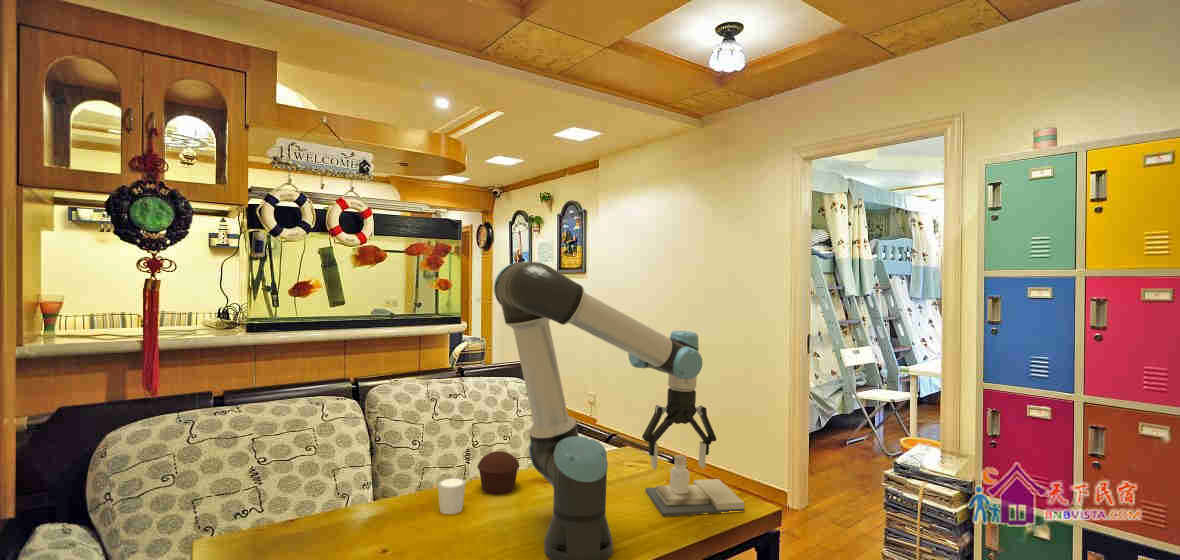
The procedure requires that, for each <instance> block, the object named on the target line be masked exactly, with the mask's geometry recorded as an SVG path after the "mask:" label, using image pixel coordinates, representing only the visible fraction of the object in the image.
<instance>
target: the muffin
mask: <svg viewBox="0 0 1180 560" xmlns="http://www.w3.org/2000/svg"><path fill="white" fill-rule="evenodd" d="M519 468H520V462H519V461H518V459H517V458H516V457H515V456H514V455H513V454H510V452H507V451H491V452H489V453H487V454H486V455H484V456H482V458H481V459H480V461H478V464H477V469H478V470H479V476H480V483H481V490H482V491H483V492H484V493H485V494H488V495H492V496H498V495H506V494H508V493H512V492H513V490H514V489H515V486H516V479H517V474H518V470H519Z"/></svg>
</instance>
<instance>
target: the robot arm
mask: <svg viewBox="0 0 1180 560" xmlns="http://www.w3.org/2000/svg"><path fill="white" fill-rule="evenodd" d="M493 292H494V296H495V299H496V300H497V302H498V303H499V305H500V306H501V309H502V314H503V318H504V322H505V325H507V326H508V327H510V328H511V329H512V330H513V333H514V339H515V343H516V347H517V353H518V357H519V361H520V367H521V371H522V375H523V376H522V377H523V381H524V385H525V390H526V394H527V398H528V404H529V408H530V409H529V410H530V412H531V413H530V414H531V418H532V422H533V423H532V425H531V427H530V429H528V430H529V431H528V434H529V438H530V442H529V444H528V454H529V458H530V461H531V463H532V465H533V467H534V469H535V470H536V471H537V473H539V474H540V475H541V476H542V477H543V478H544V479H545V480H546V481H547V482H548V483H549V484H550V486H552V488H553V503H552V504H553V505H552V506H553V507H552V508H553V510H552V517H551V519H550V522H549V525H548V528H547V531H546V533H545V536H544V542H543V543H544V546H543V547H544V548H543V550H544V554H545V555H546V557H547V558H548V559H549V560H608V559H609V558H610V557H611V555H612V554H613V545H614V542H613V536H612V533H611V529H610V526H609V523H608V519H607V516H606V510H607V509H606V508H607V506H606V505H607V504H606V503H607V482H608V481H607V480H608V479H607V478H608V467H609V466H608V465H609V464H608V463H609V462H608V456H607V455H608V454H607V451H606V450H607V449H606V448H605V446H603V444H602V443H601V442H600V441H597V440H595V439H594V438H588V437H586V436H580V435H579V432H578V426H577V422H576V419H575V418H573V417H572V416H569V414H568V409H567V403H566V399H565V394H564V389H563V384H562V379H561V375H560V371H559V364H558V360H557V355H556V350H555V345H554V340H553V335H552V331H551V327H550V320H551V321H554V322H556V323H558V324H559V325H561V326H562V325H563V326H565V325H567V324H569V325H572V326H574V327H576V328H578V329H580V330H582V331H584V332H585V333H588V334H590V335H592V336H594V337H596V338H598V339H600V340H602V341H604V342H606V343H608V344H609V345H612V346H614V347H616V348H618V349H620V350H622V351H623V352H626V353H627V354H628V360H629V363H630V365H631V366H632V367H633V368H636V369H638V368H639V369H652V370H656V371H658V372H661V373H665V374H668V378H667V379H668V380H667V382H668V383H667V385H668V387H669V388H668V389H667V398H666V399H667V402H666V403H667V404H666V406H661V405H659V404H658V405H655V408H654V413H653V416H652V417H651V418H650V419H651V420H650V421H649V423H648V425H647V426H646V428H645V431H644V432H643V434H642V436H641V438H642V439H643V441H644V442H645V443H648V450H647V451H648V453H647V454H649V456H651V458H650V459H651V461H650V466H651V467H652V469H653V470H657V469H658V467H657V466H658V452H659V445H658V443H657V442H658V440H659V439H661V437H662V436H663V435H664V433H666V431H667V430H668V429H669V428H670V427H671V426H672V425H673V424H675V425H680V424H684V425H688V424H690V426H692V428H693V429H694V431H695V432H696V433H697V435H698V436H699V437H700V438H701V440H700V441H699V448H698V449H699V452H698V453H699V454H698V466H699V467H700V468H701V469H705V468H706V459H707V458H706V457H707V456H709V453H710V445H711V444H712V442H716V441H717V436H716V435H715V432H714V429H713V427H712V424H711V422H710V420H709V418H708V414H707V413H708V412H707V408H706V407H705V406H703V405H699V406H697V407H696V402H697V401H696V398H697V397H696V396H697V392H696V390H695V389H696V388H697V378H698V376H699V374H700V372H701V371H702V369H703V358H702V355H701V354H700V352H699V349H700V348H699V335H698V334H697V333H696V332H694V331H687V330H673V331H671V332H670V336H669V337H668V336H666V335H664V334H662V333H661V332H658V331H657V330H655V329H653V328H651V327H650V326H648V325H646V324H644V323H642V322H640V321H638V320H636V319H635V318H632V317H631V316H629V315H627V314H626V313H624V312H621V311H619V310H617V309H616V308H614V307H612V306H611V305H608V304H607V303H605V302H604V301H603V302H602V301H601V300H599V299H597V298H595V297H594V296H592V295H590V294H588V293H586V292H585V288H584V286H583V285H582V284H580V283H578V282H576V281H574V280H572V279H570V278H569V277H567V276H565V275H564V274H563V273H561V272H559V271H558V270H556V269H554V268H553V267H551V266H549V265H547V264H545V263H542V262H537V261H530V262H528V261H520V262H519V261H518V262H517V261H516V262H513V263H511V264H509V265H506V266H505V267H503V268H502V269H501V270H500V271H499V272H498V274H497V275H496V277H495V279H494V283H493ZM665 413H666V414H667V415H666V416H665V417H664V419H663V421H662V422H661V424H660V425H658V424H659V422H660V420H661V418H662V416H663V415H664V414H665ZM696 414H697V415H699V417H700V420H701V422H702V424H703V427H704V430H705V432H706V433H705V432H704V431H703V429H702V428H701V427H700V425H699V424H698V422H697V420H695V418H694V416H695V415H696ZM706 434H707V435H706Z"/></svg>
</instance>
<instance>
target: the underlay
mask: <svg viewBox="0 0 1180 560" xmlns="http://www.w3.org/2000/svg"><path fill="white" fill-rule="evenodd" d="M693 485H698V486H699V487H700V488H701V489H702V490H703V491H704V493H705V494H706V495H707V496H708V497H709V498H710V504H697V505H666V504H665V503H664V502H663V500H662V499H661V498H660V496H659V495H658V494H657V492H656V487H645V490H644V491H645V493H646V495H647V494H648V495H647V496H648V498H649V497H650V498H649V499H650V500H651V502H652V501H653V502H652V503H653V504H655V505H654V506H655V508H656V509H657V510H658V511H659V513H660V515H661V514H662V515H661V517H663V518H667V517H666V516H672V517H681V516H680V515H688V516H693V515H692V514H702V513H703V514H704V513H721V512H729V511H744V512H745V501H743V500H742V499H741V498H740V497H739V496H738V495H737V494H736V493H734V491H733V490H732V489H730V488H729V487H728V486H727V485H726V484H725V483H724V482H723V481H721V480H720V478H715V479H714V478H713V479H712V478H711V479H695V480H693Z"/></svg>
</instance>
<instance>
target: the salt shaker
mask: <svg viewBox="0 0 1180 560" xmlns="http://www.w3.org/2000/svg"><path fill="white" fill-rule="evenodd" d="M687 459H688V458H687V456H685V455H682V454H676V455H675V456H674V466H672V467H671V468H670V475H669V476H670V479H669V485H670V490H671V491H673V492H674V493H675V494H686V493H688V491H689V485H690V470H689V469H688V468H686V467H687Z"/></svg>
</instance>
